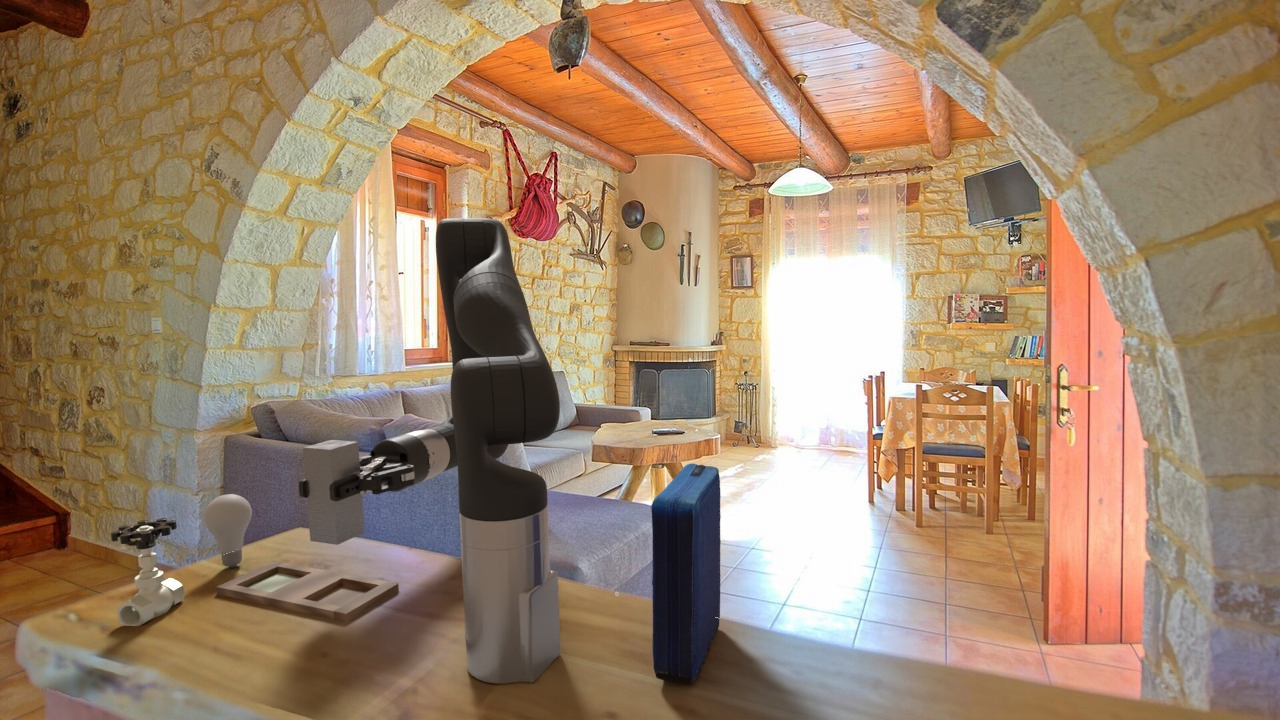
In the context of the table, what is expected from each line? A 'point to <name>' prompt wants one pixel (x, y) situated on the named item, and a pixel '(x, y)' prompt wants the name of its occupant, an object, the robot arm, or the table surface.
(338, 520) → the metal block
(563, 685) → the table surface
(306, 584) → the tray
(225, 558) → the lightbulb
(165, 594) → the valve
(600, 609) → the table surface
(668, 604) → the blue case
